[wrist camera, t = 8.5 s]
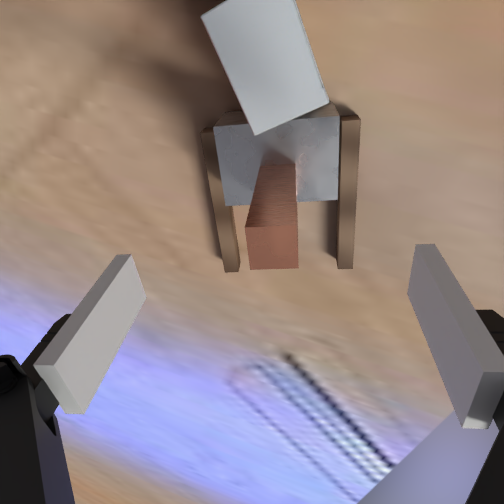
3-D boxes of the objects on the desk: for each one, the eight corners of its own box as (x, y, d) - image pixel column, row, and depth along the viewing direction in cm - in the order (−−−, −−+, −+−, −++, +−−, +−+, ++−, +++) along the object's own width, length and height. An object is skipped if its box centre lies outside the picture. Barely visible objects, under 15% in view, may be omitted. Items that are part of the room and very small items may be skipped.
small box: (225, 17, 30) (195, 12, 21) (287, -19, 28) (283, -41, 19) (263, 109, 33) (252, 138, 24) (320, 82, 32) (330, 103, 23)
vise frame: (177, -33, 28) (134, -55, 21) (366, -62, 26) (395, -99, 19) (227, 262, 43) (213, 312, 36) (350, 258, 41) (363, 310, 33)
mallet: (225, 112, 34) (174, 174, 19) (332, 102, 32) (363, 160, 18) (234, 181, 37) (198, 277, 23) (331, 175, 36) (356, 273, 21)
